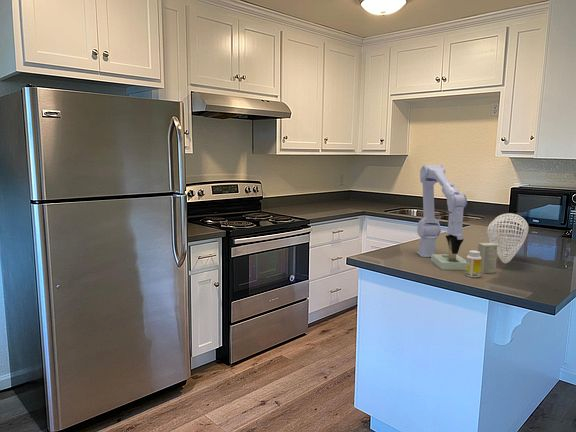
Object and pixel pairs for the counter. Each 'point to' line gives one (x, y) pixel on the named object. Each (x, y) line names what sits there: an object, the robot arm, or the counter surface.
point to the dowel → (451, 256)
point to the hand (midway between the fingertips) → (453, 252)
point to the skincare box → (488, 257)
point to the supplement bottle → (473, 264)
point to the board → (448, 262)
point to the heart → (517, 247)
